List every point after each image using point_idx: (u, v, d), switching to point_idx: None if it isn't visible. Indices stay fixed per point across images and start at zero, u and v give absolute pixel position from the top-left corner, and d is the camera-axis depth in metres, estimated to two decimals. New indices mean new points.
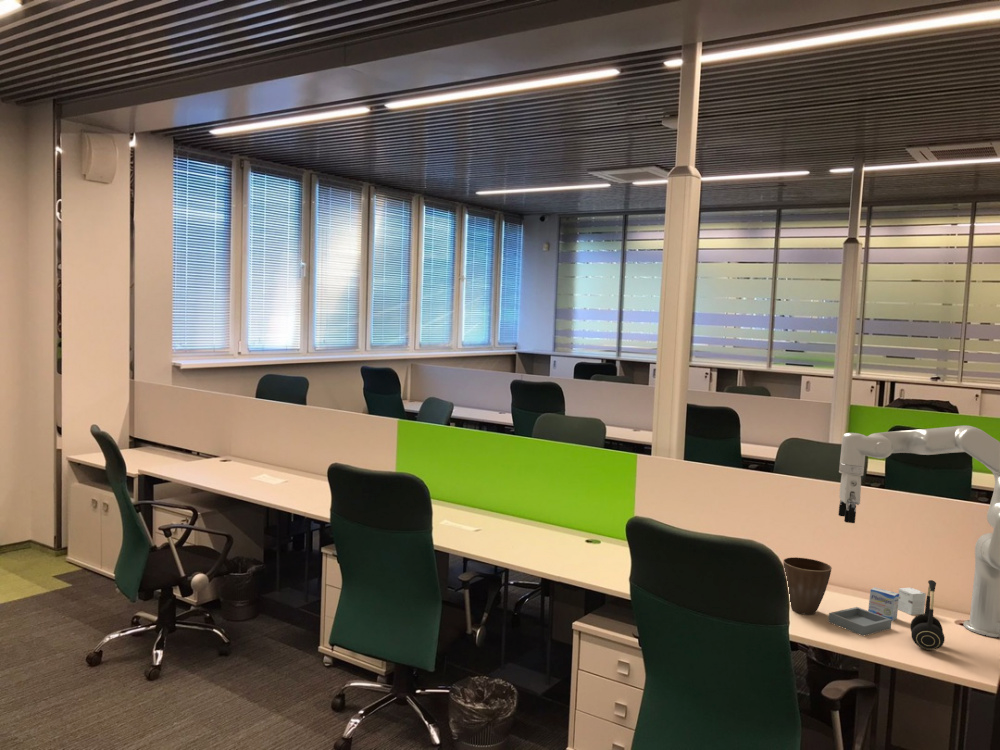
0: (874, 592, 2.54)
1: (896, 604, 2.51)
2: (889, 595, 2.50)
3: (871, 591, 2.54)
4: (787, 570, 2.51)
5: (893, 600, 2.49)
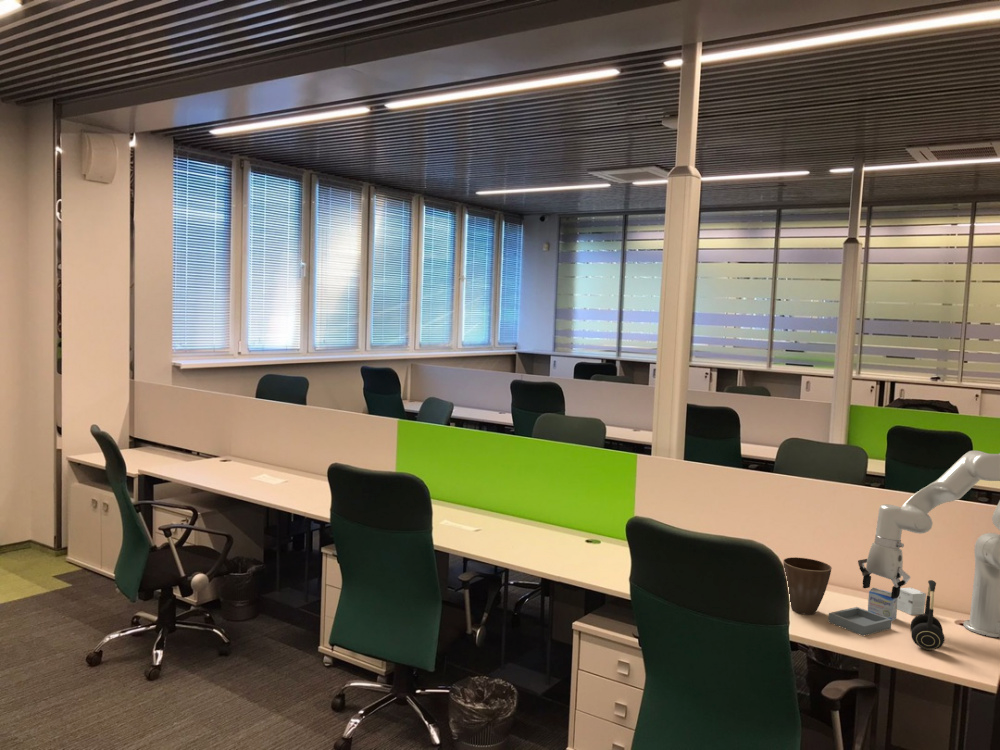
0: (872, 593, 2.53)
1: (895, 605, 2.50)
2: (888, 597, 2.50)
3: (870, 593, 2.54)
4: (787, 570, 2.51)
5: (892, 602, 2.49)
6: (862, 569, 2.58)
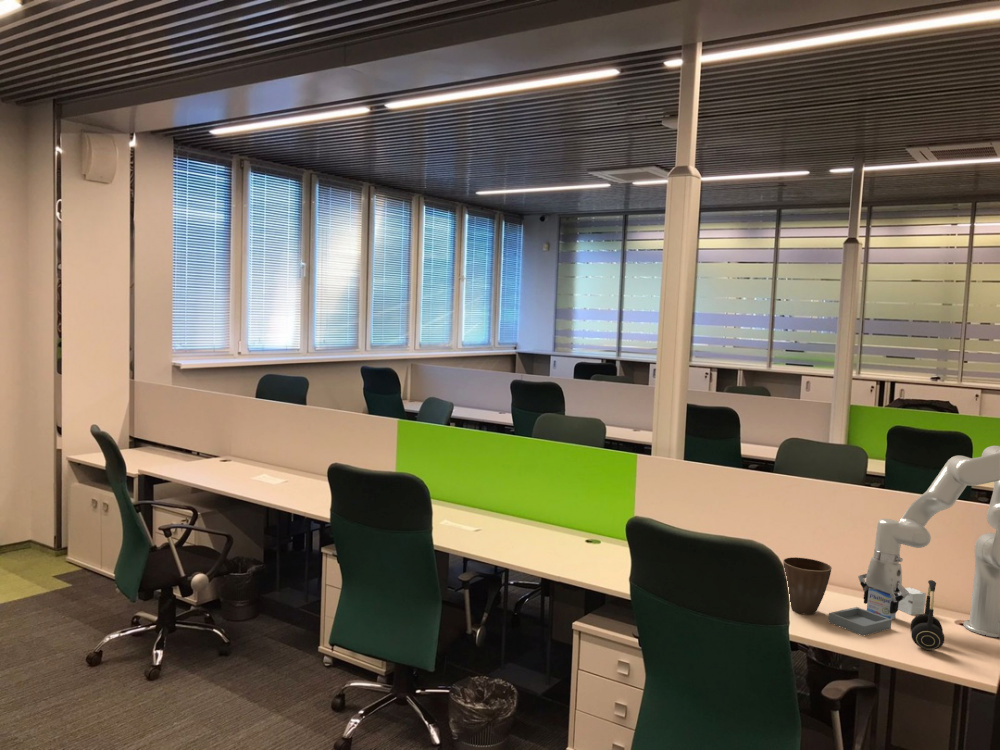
0: (872, 591, 2.54)
1: None
2: (887, 594, 2.51)
3: (869, 590, 2.55)
4: (787, 570, 2.51)
5: (891, 599, 2.50)
6: (863, 584, 2.58)
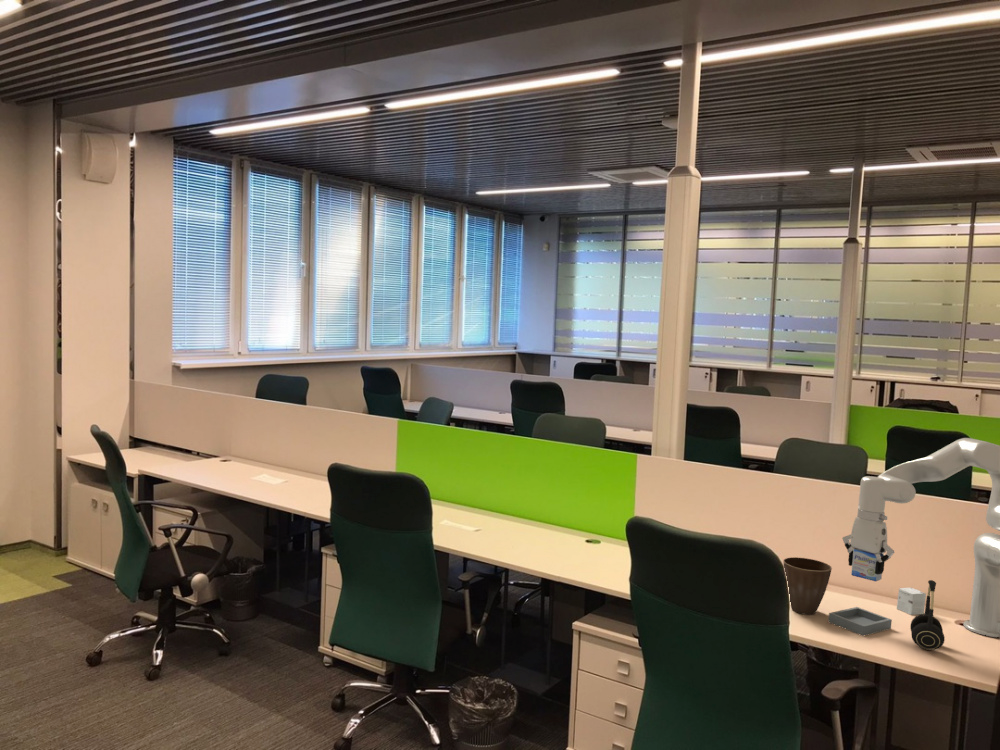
0: (857, 551, 2.44)
1: None
2: (872, 554, 2.40)
3: (854, 551, 2.44)
4: (787, 570, 2.51)
5: None
6: (847, 546, 2.47)
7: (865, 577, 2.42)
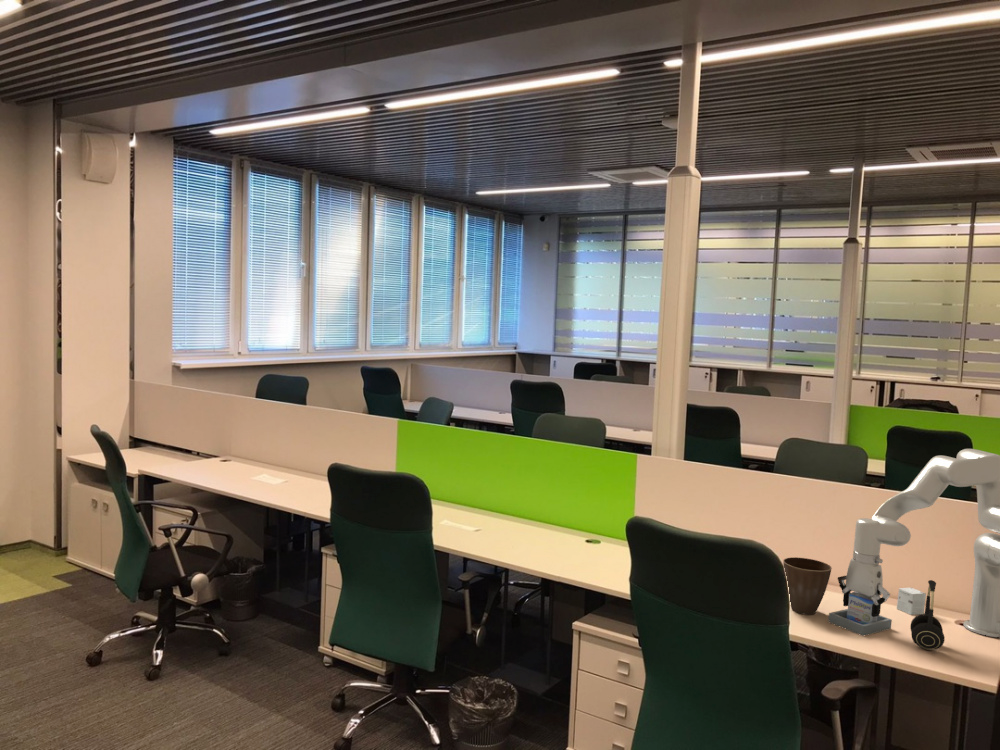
0: (853, 596, 2.44)
1: None
2: (868, 600, 2.41)
3: (850, 596, 2.45)
4: (787, 570, 2.51)
5: None
6: (842, 586, 2.48)
7: (860, 622, 2.42)
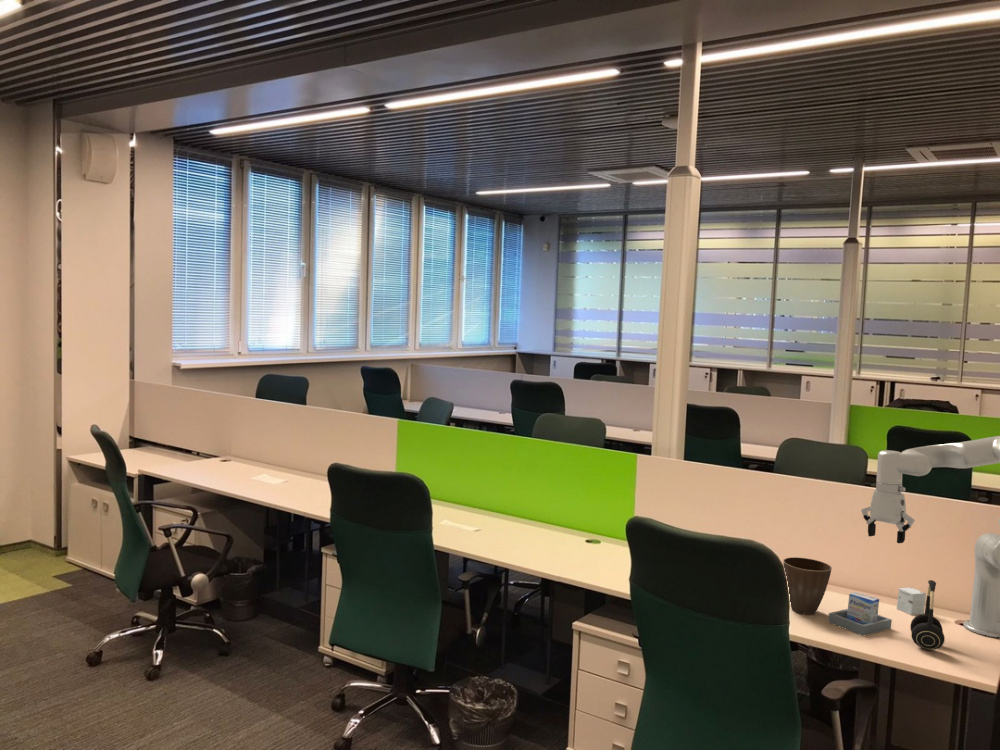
0: (853, 596, 2.44)
1: (875, 610, 2.41)
2: (868, 600, 2.41)
3: (850, 596, 2.45)
4: (787, 570, 2.51)
5: (872, 605, 2.40)
6: (866, 517, 2.57)
7: (860, 622, 2.42)
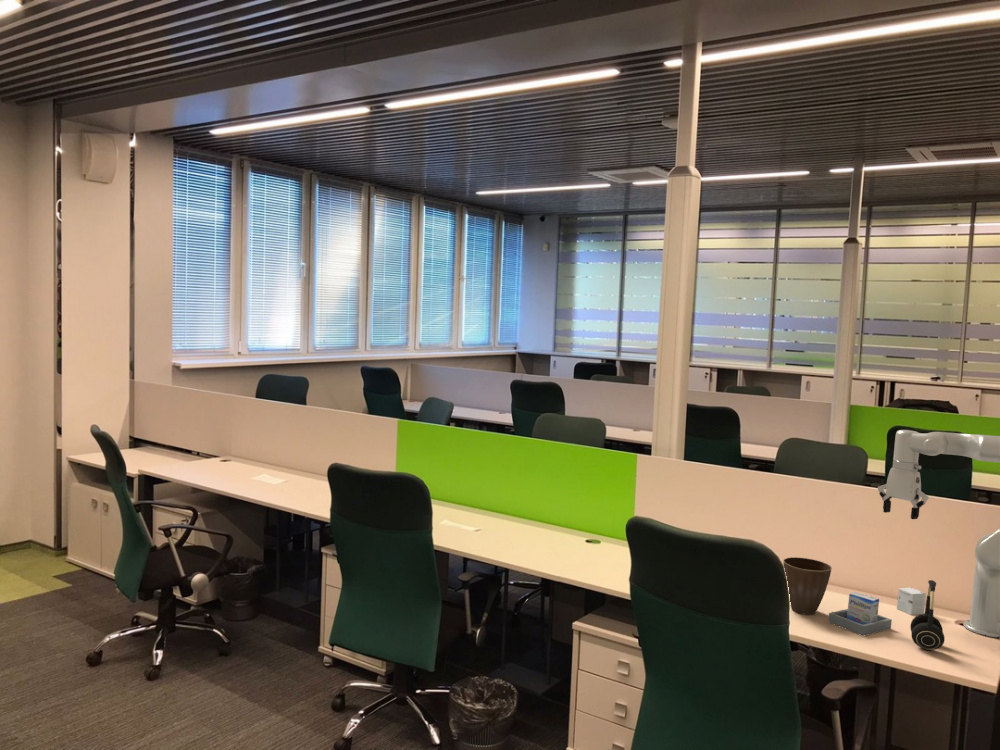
0: (853, 596, 2.44)
1: (875, 610, 2.41)
2: (868, 600, 2.41)
3: (850, 596, 2.45)
4: (787, 570, 2.51)
5: (872, 605, 2.40)
6: (882, 494, 2.67)
7: (860, 622, 2.42)
